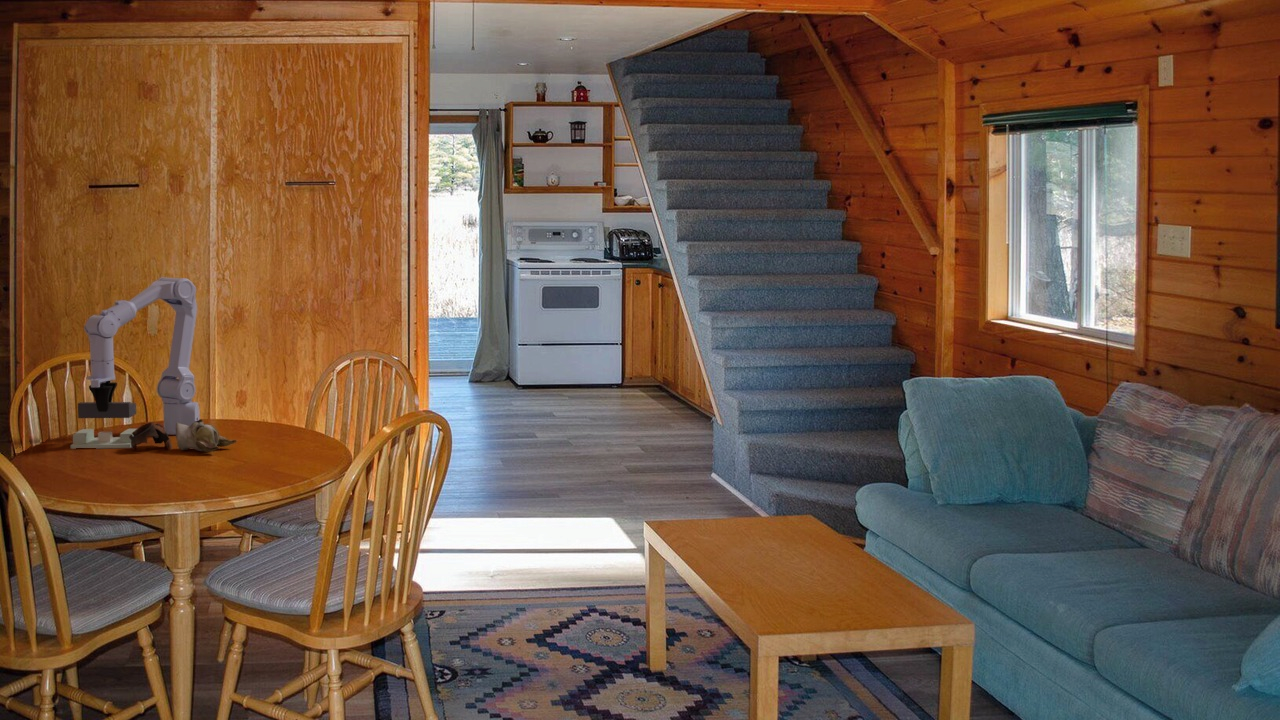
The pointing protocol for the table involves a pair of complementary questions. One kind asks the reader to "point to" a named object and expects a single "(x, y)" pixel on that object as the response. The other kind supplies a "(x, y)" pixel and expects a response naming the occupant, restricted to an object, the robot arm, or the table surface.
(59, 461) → the table surface
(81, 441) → the stand
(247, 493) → the table surface
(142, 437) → the dark brown legged piece
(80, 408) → the dark gray rectangular block
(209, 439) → the ceramic sculpture
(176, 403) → the robot arm
